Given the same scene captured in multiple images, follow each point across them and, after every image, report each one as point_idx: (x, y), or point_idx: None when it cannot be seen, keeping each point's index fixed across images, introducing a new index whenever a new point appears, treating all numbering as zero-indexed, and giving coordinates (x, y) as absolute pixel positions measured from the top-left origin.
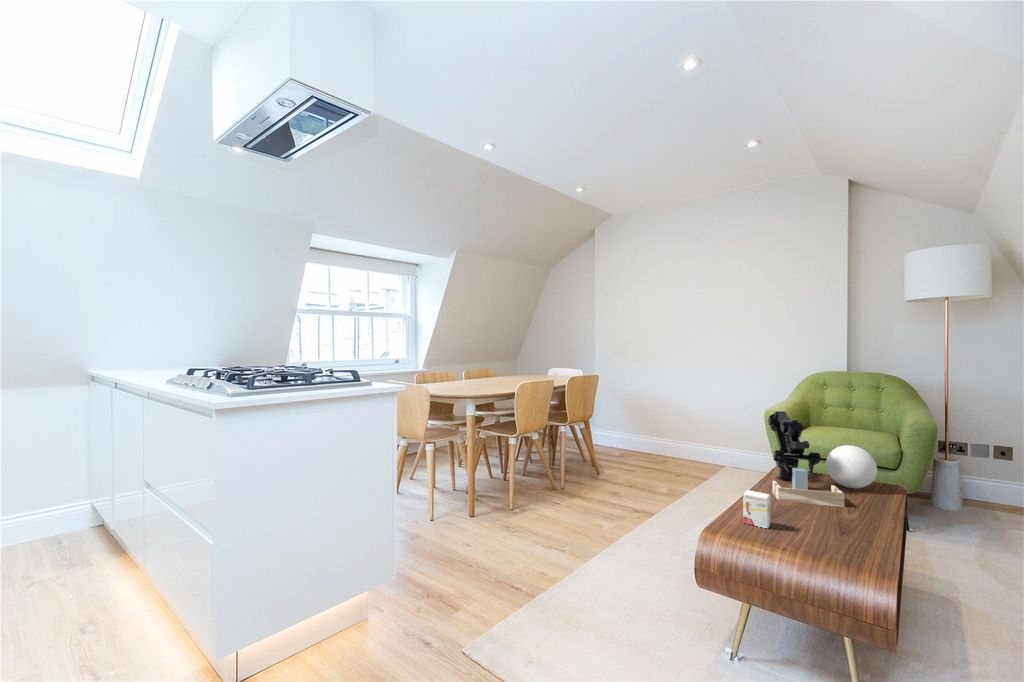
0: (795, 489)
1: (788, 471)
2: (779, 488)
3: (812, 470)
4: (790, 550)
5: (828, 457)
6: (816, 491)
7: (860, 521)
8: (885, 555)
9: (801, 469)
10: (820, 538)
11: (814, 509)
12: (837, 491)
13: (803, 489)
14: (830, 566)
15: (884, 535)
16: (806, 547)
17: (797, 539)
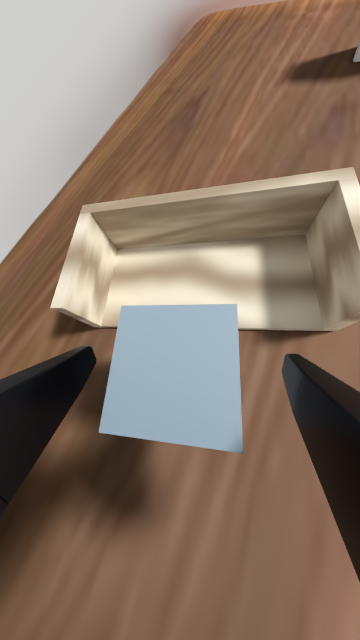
0: (265, 180)
1: (295, 358)
2: (347, 170)
3: (59, 355)
4: (316, 8)
5: None
6: (176, 193)
7: (128, 169)
8: (170, 64)
9: (151, 371)
10: (250, 64)
11: None
12: (86, 238)
13: (225, 194)
14: (263, 6)
15: (125, 125)
16: (285, 28)
17: (296, 42)
